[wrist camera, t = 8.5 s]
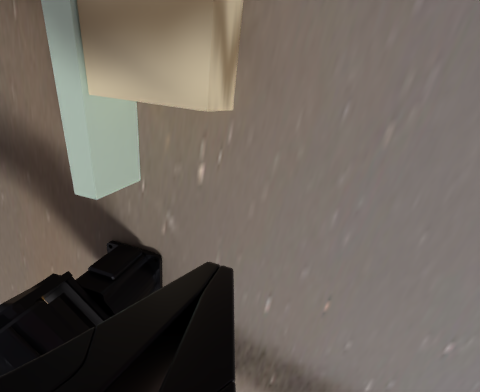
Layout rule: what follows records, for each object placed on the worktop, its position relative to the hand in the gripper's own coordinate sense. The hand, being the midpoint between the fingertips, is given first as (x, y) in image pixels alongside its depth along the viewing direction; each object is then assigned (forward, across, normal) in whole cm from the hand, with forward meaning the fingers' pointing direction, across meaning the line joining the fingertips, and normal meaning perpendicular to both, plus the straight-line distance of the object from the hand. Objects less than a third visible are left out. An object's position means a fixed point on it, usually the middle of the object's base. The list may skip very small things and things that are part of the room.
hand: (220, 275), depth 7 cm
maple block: (+12, +8, -8) cm, 17 cm away
